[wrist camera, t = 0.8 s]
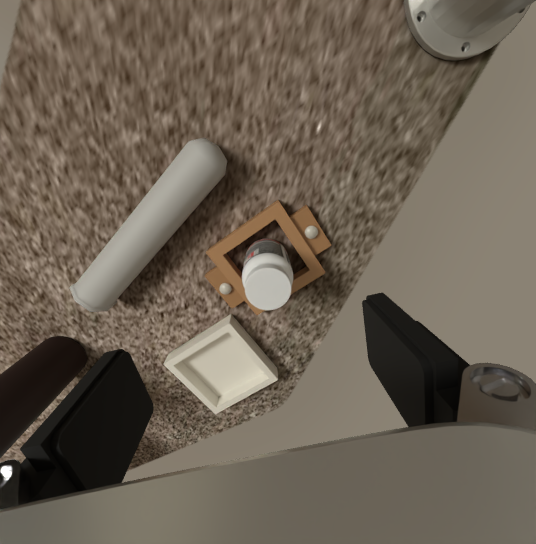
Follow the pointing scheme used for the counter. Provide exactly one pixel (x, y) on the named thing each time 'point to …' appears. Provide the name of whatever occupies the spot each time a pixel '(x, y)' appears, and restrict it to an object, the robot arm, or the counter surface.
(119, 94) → the counter surface
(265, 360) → the parts tray
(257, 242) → the pill bottle
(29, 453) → the robot arm
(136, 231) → the tube
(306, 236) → the brown flat square frame
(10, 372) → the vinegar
